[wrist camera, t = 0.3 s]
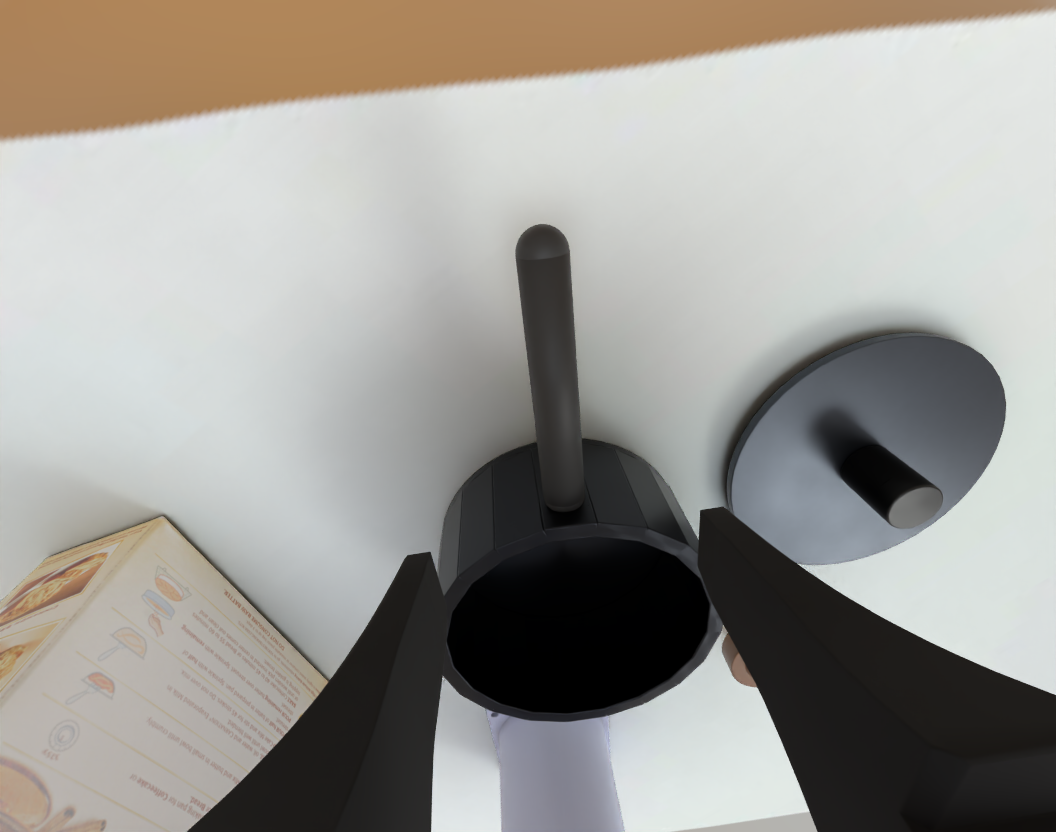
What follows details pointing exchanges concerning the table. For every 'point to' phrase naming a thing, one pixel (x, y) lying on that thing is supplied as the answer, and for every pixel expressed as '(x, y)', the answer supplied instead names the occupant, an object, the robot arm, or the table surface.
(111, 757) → the coffeecake box
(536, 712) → the pan
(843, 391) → the lid
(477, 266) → the table surface
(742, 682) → the mushroom
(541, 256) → the pan handle
